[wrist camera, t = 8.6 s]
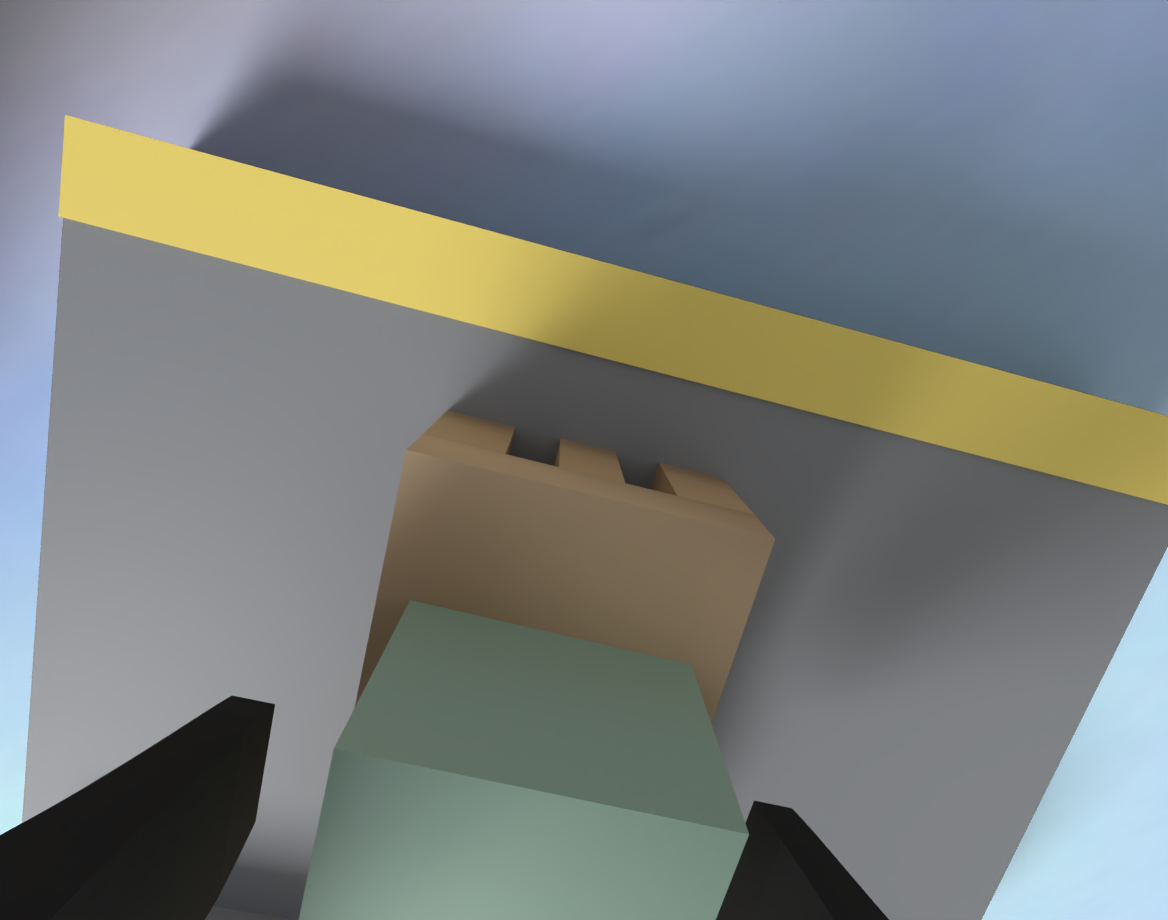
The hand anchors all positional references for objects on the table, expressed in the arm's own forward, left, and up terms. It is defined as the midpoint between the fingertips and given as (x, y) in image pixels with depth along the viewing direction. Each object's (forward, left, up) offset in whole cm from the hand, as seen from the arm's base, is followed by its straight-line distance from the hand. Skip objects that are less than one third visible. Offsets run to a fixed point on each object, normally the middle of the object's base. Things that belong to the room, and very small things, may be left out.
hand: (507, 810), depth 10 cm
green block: (+1, 0, 0) cm, 1 cm away
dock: (0, -1, -6) cm, 6 cm away
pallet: (0, 0, -3) cm, 3 cm away
